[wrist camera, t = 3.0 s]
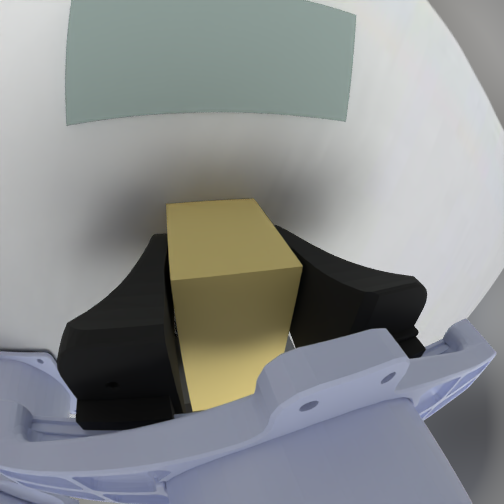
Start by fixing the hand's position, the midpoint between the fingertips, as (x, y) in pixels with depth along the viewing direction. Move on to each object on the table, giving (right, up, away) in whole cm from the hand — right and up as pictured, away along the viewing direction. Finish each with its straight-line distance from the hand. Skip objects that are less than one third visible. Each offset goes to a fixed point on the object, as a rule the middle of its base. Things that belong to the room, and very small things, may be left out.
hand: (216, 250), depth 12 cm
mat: (0, +8, -3) cm, 8 cm away
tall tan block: (-1, -1, +3) cm, 3 cm away
